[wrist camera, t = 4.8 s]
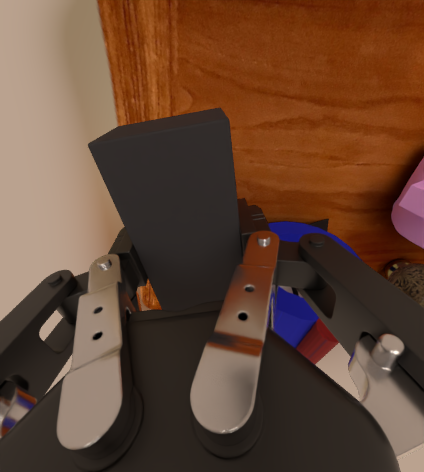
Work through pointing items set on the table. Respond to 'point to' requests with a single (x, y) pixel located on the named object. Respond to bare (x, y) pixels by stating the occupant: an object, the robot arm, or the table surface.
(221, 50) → the table surface
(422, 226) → the teapot
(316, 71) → the table surface
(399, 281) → the cup
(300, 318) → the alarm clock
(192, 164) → the black rectangular block
